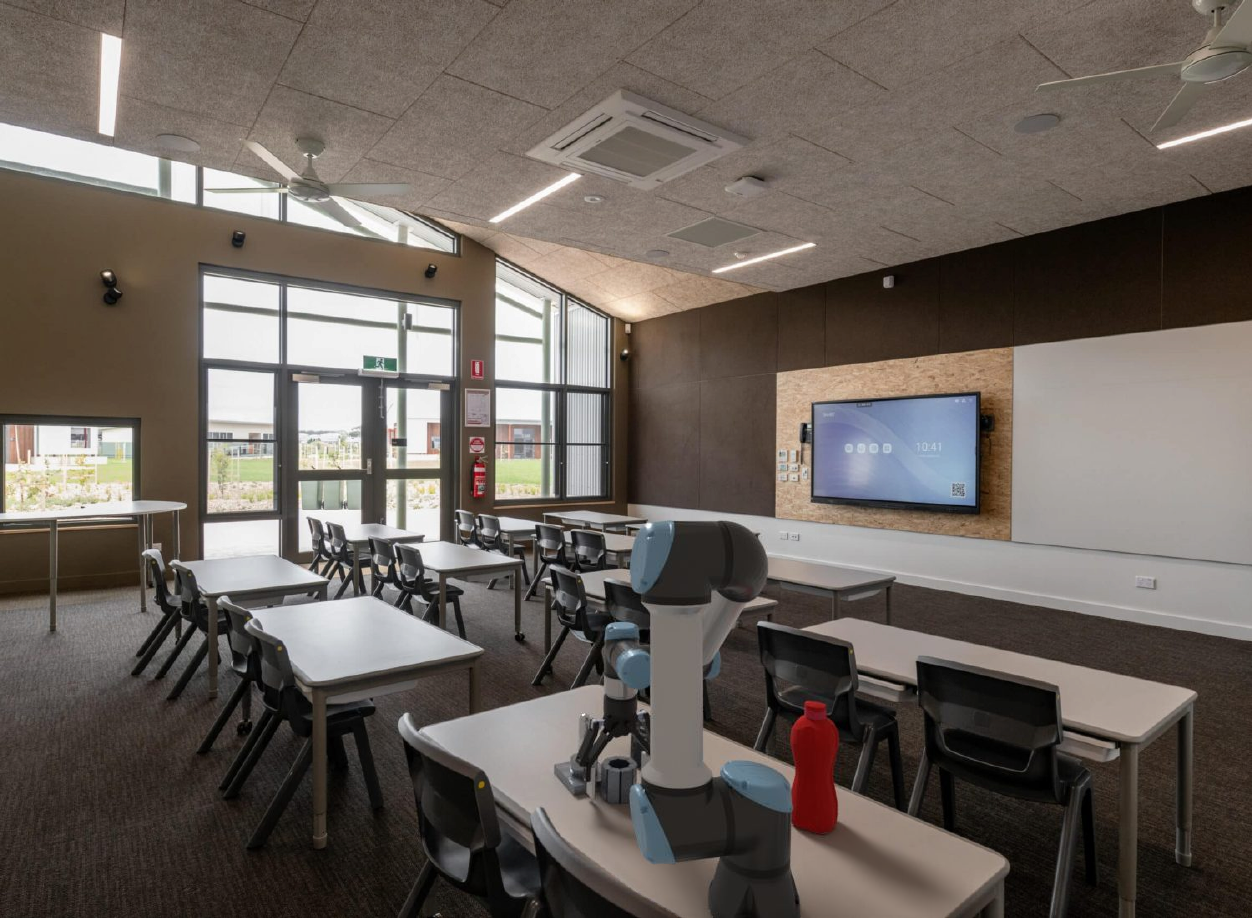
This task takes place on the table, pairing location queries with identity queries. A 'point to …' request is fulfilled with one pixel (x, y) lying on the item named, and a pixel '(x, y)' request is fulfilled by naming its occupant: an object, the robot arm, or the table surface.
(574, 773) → the shaft block
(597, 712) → the table surface
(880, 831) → the table surface
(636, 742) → the camera
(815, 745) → the water bottle
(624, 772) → the hub
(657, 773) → the robot arm
